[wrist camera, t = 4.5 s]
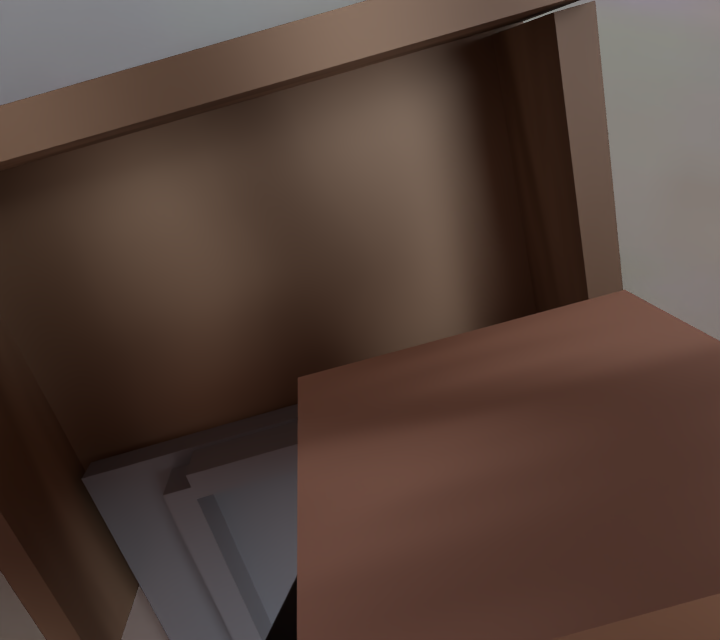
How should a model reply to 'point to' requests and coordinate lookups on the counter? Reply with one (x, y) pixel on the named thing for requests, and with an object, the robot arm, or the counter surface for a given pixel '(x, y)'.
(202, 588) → the sliding tray
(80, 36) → the counter surface
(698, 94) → the counter surface
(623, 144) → the counter surface
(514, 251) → the caddy frame
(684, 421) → the terracotta block
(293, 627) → the robot arm
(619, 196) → the counter surface
